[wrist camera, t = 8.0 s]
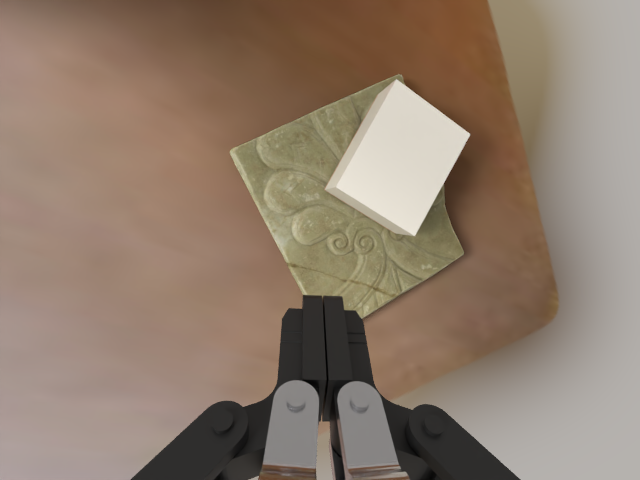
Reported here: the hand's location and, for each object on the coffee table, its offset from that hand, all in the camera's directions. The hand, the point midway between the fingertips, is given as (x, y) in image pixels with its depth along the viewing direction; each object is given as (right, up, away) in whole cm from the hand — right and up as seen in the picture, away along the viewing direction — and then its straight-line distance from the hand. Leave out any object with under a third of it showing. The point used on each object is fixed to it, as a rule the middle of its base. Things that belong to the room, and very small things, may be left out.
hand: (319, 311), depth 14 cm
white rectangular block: (+4, +5, +17) cm, 18 cm away
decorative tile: (+4, +6, +23) cm, 24 cm away
